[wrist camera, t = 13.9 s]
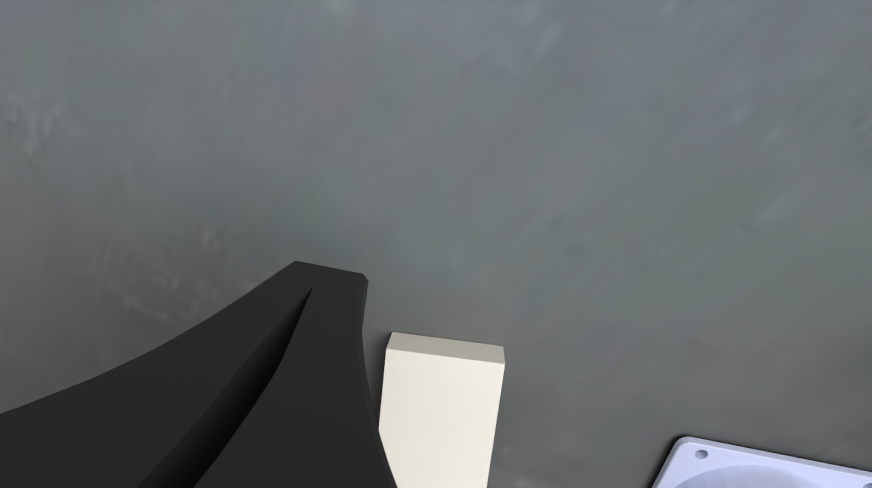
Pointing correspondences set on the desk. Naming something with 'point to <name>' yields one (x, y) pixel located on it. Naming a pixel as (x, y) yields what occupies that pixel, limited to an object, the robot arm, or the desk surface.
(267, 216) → the desk surface
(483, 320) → the desk surface
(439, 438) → the domino
